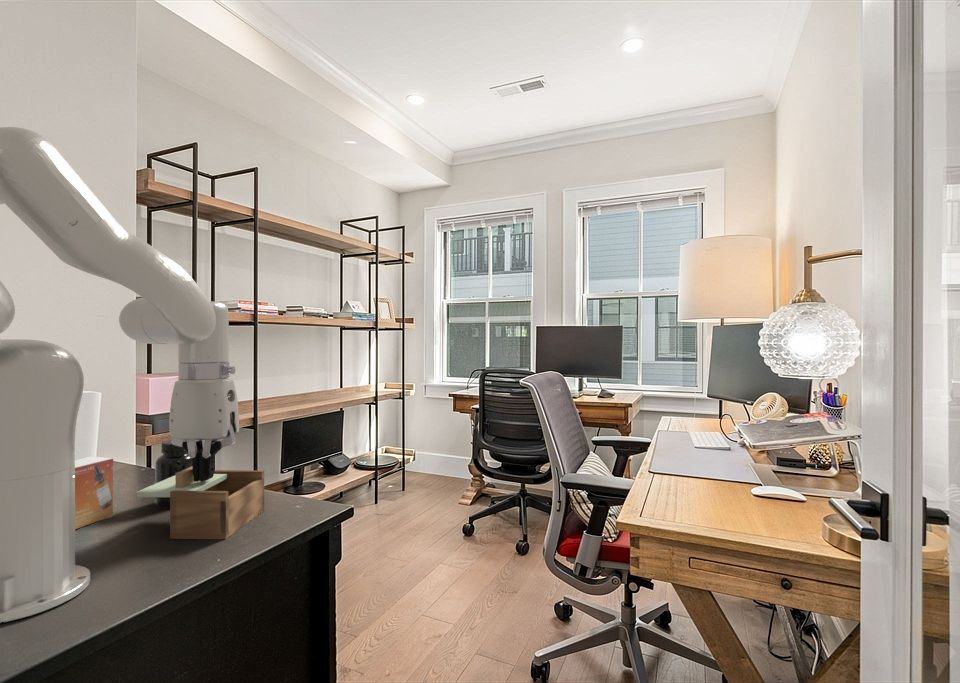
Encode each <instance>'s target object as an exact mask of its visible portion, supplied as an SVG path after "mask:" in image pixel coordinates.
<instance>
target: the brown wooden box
mask: <svg viewBox="0 0 960 683" xmlns="http://www.w3.org/2000/svg"><path fill="white" fill-rule="evenodd" d="M214 474H227V479H225V480H223V481H221V482H219V483H218V484H216V485H214V486H212V487H210V488H208V489H206V490H204V491H171V492H170V508H169V518H170V519H169V525H170V526H169V538H170V539H180V540H181V539H185V540H186V539H187V540H189V539H190V540H191V539H192V540H195V539H196V540H227V539H228V538H229V537H230V536H232V535H233V534H235V533H236V532H237V531H239V530H240V529H241V528H243V527H244V526H245V525H246V524H248V523H249V522H251V521H253V519H254V517H255V516H256V517H257V516H259V515H260V514H261V513H263V512H264V511H265V470H256V469H255V470H254V469H253V470H251V469H250V470H249V469H246V470H244V469H243V470H239V469H238V470H236V469H232V470H231V469H229V470H228V469H227V470H225V469H215V472H214ZM263 510H264V511H263ZM262 511H263V512H262ZM260 512H261V513H260ZM259 513H260V514H259ZM258 514H259V515H258ZM256 517H255V518H256ZM250 520H251V521H250Z"/></svg>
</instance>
